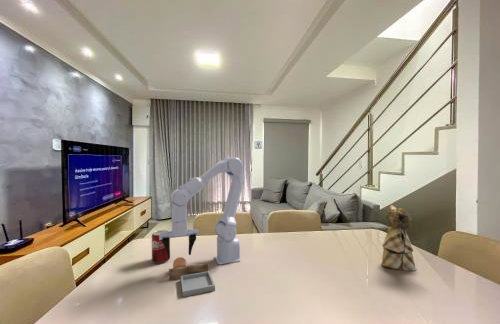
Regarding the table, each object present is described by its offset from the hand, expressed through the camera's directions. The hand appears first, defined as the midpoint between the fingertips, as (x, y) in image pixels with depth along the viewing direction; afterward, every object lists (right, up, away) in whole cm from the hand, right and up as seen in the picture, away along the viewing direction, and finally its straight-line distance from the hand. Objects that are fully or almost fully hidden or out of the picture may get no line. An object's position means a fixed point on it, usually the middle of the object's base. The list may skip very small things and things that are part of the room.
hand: (179, 255), depth 87 cm
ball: (0, -6, 0) cm, 6 cm away
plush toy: (+88, -6, +4) cm, 89 cm away
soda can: (-11, -6, +9) cm, 15 cm away
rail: (+5, -6, -4) cm, 9 cm away
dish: (+9, -6, -10) cm, 15 cm away
